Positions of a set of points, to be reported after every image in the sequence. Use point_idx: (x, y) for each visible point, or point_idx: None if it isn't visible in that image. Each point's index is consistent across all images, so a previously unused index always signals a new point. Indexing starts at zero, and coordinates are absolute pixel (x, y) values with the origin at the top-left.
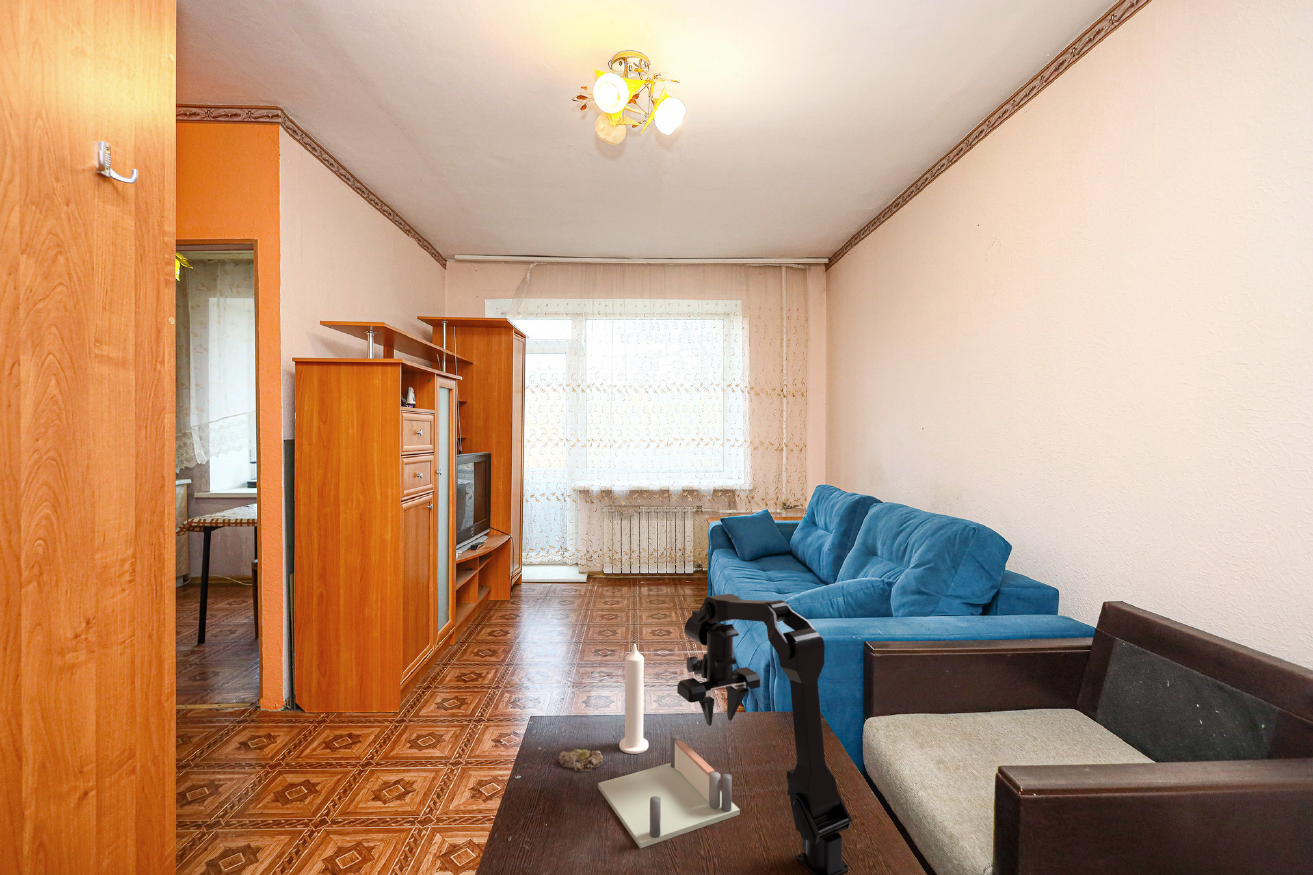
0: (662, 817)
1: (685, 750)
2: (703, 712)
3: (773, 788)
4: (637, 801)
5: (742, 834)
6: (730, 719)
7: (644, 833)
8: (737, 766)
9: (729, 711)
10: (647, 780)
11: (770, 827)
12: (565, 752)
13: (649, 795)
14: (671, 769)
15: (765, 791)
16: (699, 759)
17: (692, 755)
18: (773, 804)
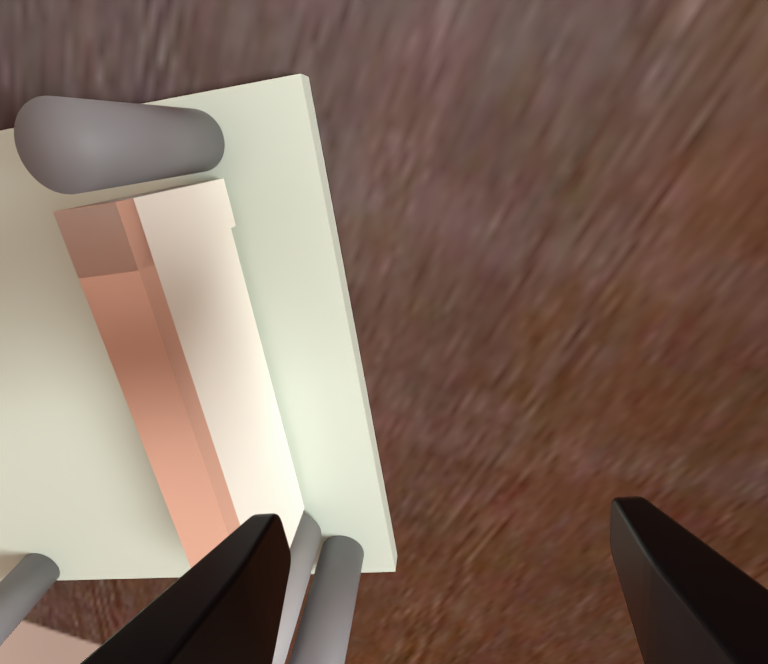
0: (74, 508)
1: (126, 386)
2: (107, 658)
3: (655, 471)
4: None
5: (355, 628)
6: (617, 570)
7: (5, 553)
8: (607, 230)
9: (666, 657)
10: (18, 243)
11: (470, 637)
12: None
13: (26, 366)
14: (166, 178)
15: (600, 476)
16: (203, 518)
17: (166, 461)
18: (570, 554)
